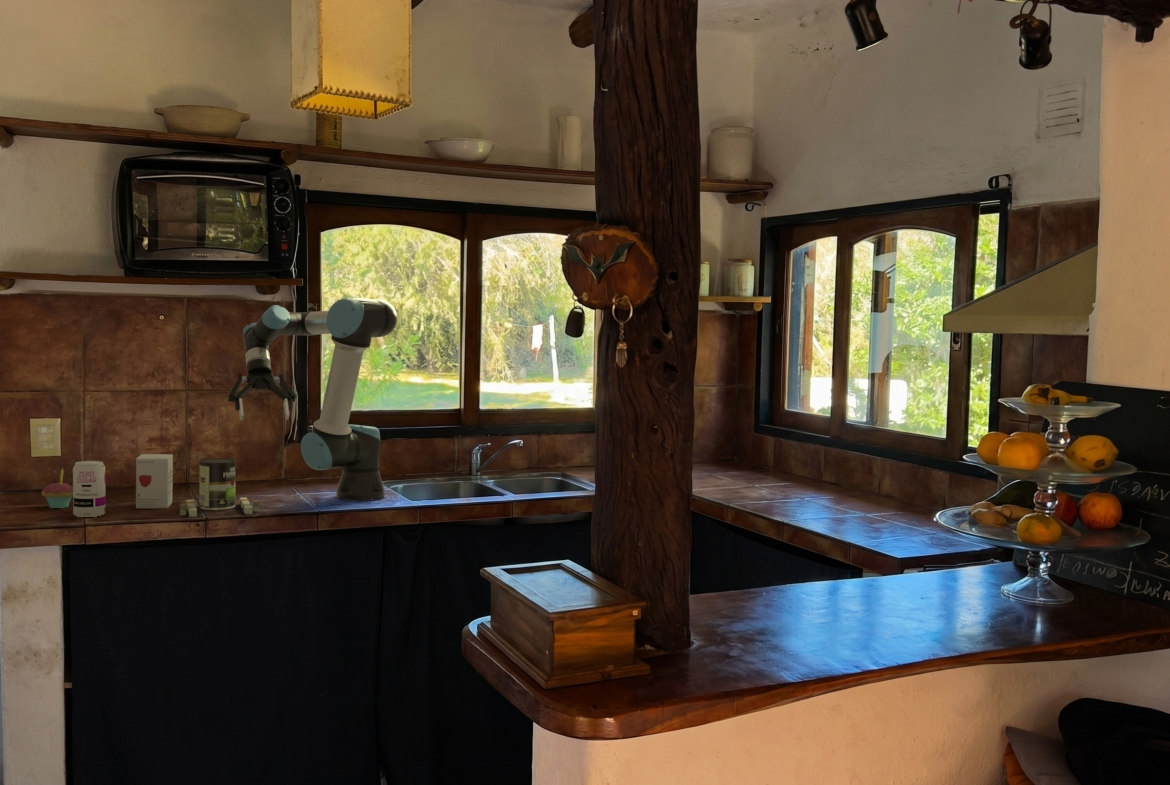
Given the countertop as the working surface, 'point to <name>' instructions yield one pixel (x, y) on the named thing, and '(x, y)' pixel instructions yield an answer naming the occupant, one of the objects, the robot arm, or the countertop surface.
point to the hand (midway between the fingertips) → (264, 417)
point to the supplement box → (154, 480)
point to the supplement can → (89, 489)
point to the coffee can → (217, 483)
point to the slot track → (243, 502)
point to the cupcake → (58, 493)
